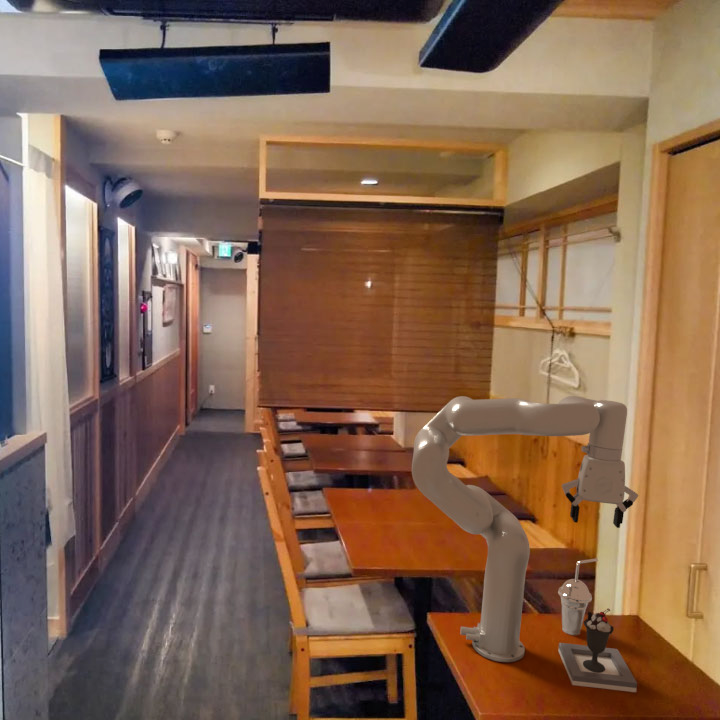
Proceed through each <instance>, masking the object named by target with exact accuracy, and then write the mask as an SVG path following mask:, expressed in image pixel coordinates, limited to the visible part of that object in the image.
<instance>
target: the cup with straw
mask: <svg viewBox="0 0 720 720" xmlns="http://www.w3.org/2000/svg"><path fill="white" fill-rule="evenodd" d="M598 561H599V559H598V558H591V559H583V560H582V559H581V560H579V561H577V562H576V567H575V576H574V578H570V579H567V580H566V581H565V582H564V583H563V584H562V585H561V586H560V587H558V591H557V593H558V595H559V596H560V601H561V602H560V603H561V626H562V627H561V629H562V632H564V633H565V634H568V635H570V636H578V635H580V634H581V630H582V626H583V624H584V620H585V613H586V609H587V607H588V605H589V603H591V602H592V599H593V597H592V594H591V593H590V590H589V588H588V586H587V585H586V584H585V583H584V582H583V581H582V580H580V579H579V572H580V565H581V564H587V563H593V562H598Z"/></svg>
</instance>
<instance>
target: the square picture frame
mask: <svg viewBox="0 0 720 720" xmlns="http://www.w3.org/2000/svg"><path fill="white" fill-rule="evenodd" d="M557 652H558V654H559V655H560V658H561V662H562V664H563V665H564V668H565V670H566V673H567V675H568V678H569V680H570V683H571V685H572V686H578V687H586V688H588V687H589V688H595V689H597V688H598V689H605V690H612V691H622V692H629V693H637V687H638V682H637V679H636V678H635V677H634V675H633V674H632V672H631V670H630V669H629V666H628V665H627V663H626V661H625V660H624V657H623V656H622V654H621V653H620V651H619V650H618V648H611V647H606V648H605V650H604V651H603V652H602V653H599V654H598V657H597V660H598V662H599V663H601V664H602V665H603V666H604V667H605V671H603V672H600V673H597V672H593V671H590V670H588V669H586V668H585V667H584V666H583V662H584V661H585V660H592V656H593V652H592V651H591V650H590V649H589V648H588V646H587V645H585V644H584V645H583V644H575V643H565V642H559V643H558V651H557Z"/></svg>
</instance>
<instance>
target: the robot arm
mask: <svg viewBox="0 0 720 720" xmlns="http://www.w3.org/2000/svg"><path fill="white" fill-rule="evenodd" d="M627 417H628V408H627V405H625V404H624V403H622V402H618V401H613V400H604V399H602V400H595V399H591V398H590V399H589V398H585V397H581V396H577V395H569V396H565V397H563V398H562V399H561V400H559V402H558V403H542V402H533V401H529V400H527V399H522V398H517V397H516V398H515V397H510V398H507V397H506V398H487V399H472V398H471V397H469V396H465V395H463V396H462V395H460V396H456V397H454V398H452V399H451V400H449V401H448V403H447V404H445V405H444V406H443V407H442V408H441V409H440V411H438V412H437V414H435V415H434V416H433V417H432V418H431V419H430V420H429V421H428V422H427V423H426V424H425V425H424V426H423V427H422V428H421V429H420V430H419V431H418V433H417V434H416V436H415V438H414V442H413V454H412V455H413V456H412V461H411V476H412V480H413V482H414V484H415V486H416V488H417V489H418V490H419V492H420V493H421V494H423V496H424V497H425V498H427V499H428V500H429V501H430V502H431V503H432V504H434V506H436V508H438V509H439V510H440V511H442V513H443V514H445V515H446V516H447V517H448V518H449V519H451V520H452V521H453V522H454V523H455V524H456V525H458V527H460V528H461V530H463V531H465V532H467V533H468V534H472V535H481V537H483V538H484V540H486V544H487V558H486V564H485V571H484V577H483V578H484V580H483V593H482V603H481V604H482V605H481V612H480V613H481V614H480V622H477V626H473V627H468V626H463V625H462V626H460V631H459V632H460V635H462V636H466V637H465V640H469V641H472V643H471V644H472V648H473V650H475V652H476V653H478V654H479V655H481V656H482V657H483V658H486V659H488V660H491V661H494V662H500V663H514V662H517V661H520V660H521V659H522V658H524V656H525V651H526V649H525V648H526V647H525V646H524V644H523V642H522V641H520V633H521V623H522V613H523V605H524V604H523V603H524V594H525V592H524V591H525V584H526V583H525V582H526V574H527V573H526V572H527V568H528V564H529V559H530V554H531V553H530V552H531V549H530V548H531V547H530V542H529V538H528V535H527V533H526V531H525V529H524V528H523V526H522V524H521V522H520V521H519V519H518V517H516V516H515V515H514V514H513V513H512V512H511V511H509V509H507V508H506V507H505V506H504V505H502V503H500V502H499V501H498V500H497V499H496V498H494V497H493V496H492V495H491V494H489V493H488V492H487V491H485V490H484V488H481V487H479V486H476V485H474V484H467V485H466V484H465V483H463V481H461V480H460V479H459V477H457V476H455V475H454V474H452V473H451V471H449V469H448V460H449V457H450V448H451V447H452V446H453V445H454V444H455V443H456V442H457V441H458V440H459V439H460V438H461V437H463V436H465V437H468V436H470V437H471V436H473V437H474V436H493V435H494V436H495V435H497V436H498V435H523V436H541V437H572V436H573V437H574V436H586V435H589V437H588V443H587V444H586V445H582V446H581V452H583V453H586V454H585V455H583V458H582V462H581V465H580V467H579V472H578V475H577V476H578V477H577V478H576V479H573V480H570V481H568V482H565V483H562V484H561V487H562V490H563V493H564V495H565V497H566V498H567V499H568V501H569V502H570V503H571V505H570V514H569V516H570V518H571V519H572V522H573V523H575V524H576V523H579V522H578V521H579V514H580V506H579V504H580V503H582V502H583V501H585V502H586V501H587V502H594V503H603V504H610V505H616V507H615V508H614V515H613V520H612V522H613V525H614V527H616V529H617V528H618V529H620V528H621V524H622V525H623V521H624V519H623V518H624V513H625V512H626V511H627V509H629V508H630V507H632V506H633V504H634V502H635V501H636V500H637V499H638V497H639V494H638V493H637V492H636V491H634V490H632V488H629V487H627V486H626V464H625V462H624V461H623V460H622V456H623V455H622V454H623V446H624V438H625V432H626V423H627ZM575 487H576V489H575V490H576V491H575V492H576V493H575V494H574V495H572V493H571V490H570V489H572V488H573V489H574V488H575ZM625 493H626V494H627V495H629V496H628V497H627V499H625ZM624 499H625V500H624Z"/></svg>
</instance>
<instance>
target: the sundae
mask: <svg viewBox="0 0 720 720" xmlns="http://www.w3.org/2000/svg"><path fill="white" fill-rule="evenodd" d="M608 612H611V609H610V608H607V609H605V610H604V611H600V612H595V613H593V612H590V611H587V618H586V619H584V620H583V625H584V626H585V630H586V646H588V648H589V649H590V650H591V651H592V652H593V656H592V660H585V661H584V662H583V666H584V667H585V668H586V669H588V670H590V671H593V672H597V673H600V672H603V671H605V667H604V666H603V665H602V664H601V663H599V662H598V660H597V657H598V654H599V653H602V652H603V651H604V650H605V648H607V644H608V641H609V637H610V635H612V634H613V632H614V631H615V630H614V626H613V625H612V624H610V623H609V621H608V619H609V618H608V617H607V616H606V614H607V613H608Z"/></svg>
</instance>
